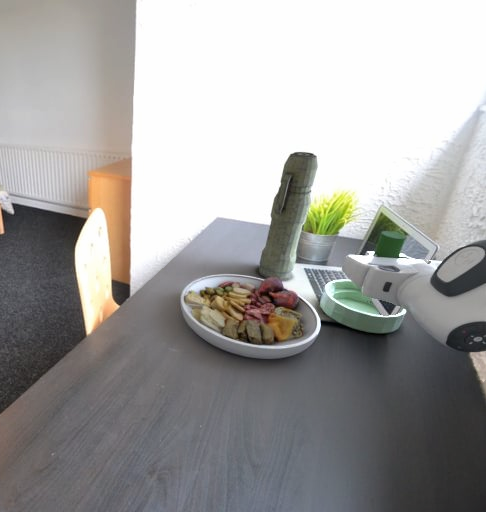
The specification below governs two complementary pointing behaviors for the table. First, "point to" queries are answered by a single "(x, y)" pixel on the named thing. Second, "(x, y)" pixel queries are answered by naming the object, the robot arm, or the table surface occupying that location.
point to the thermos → (288, 215)
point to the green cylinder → (390, 244)
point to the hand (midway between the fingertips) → (383, 255)
